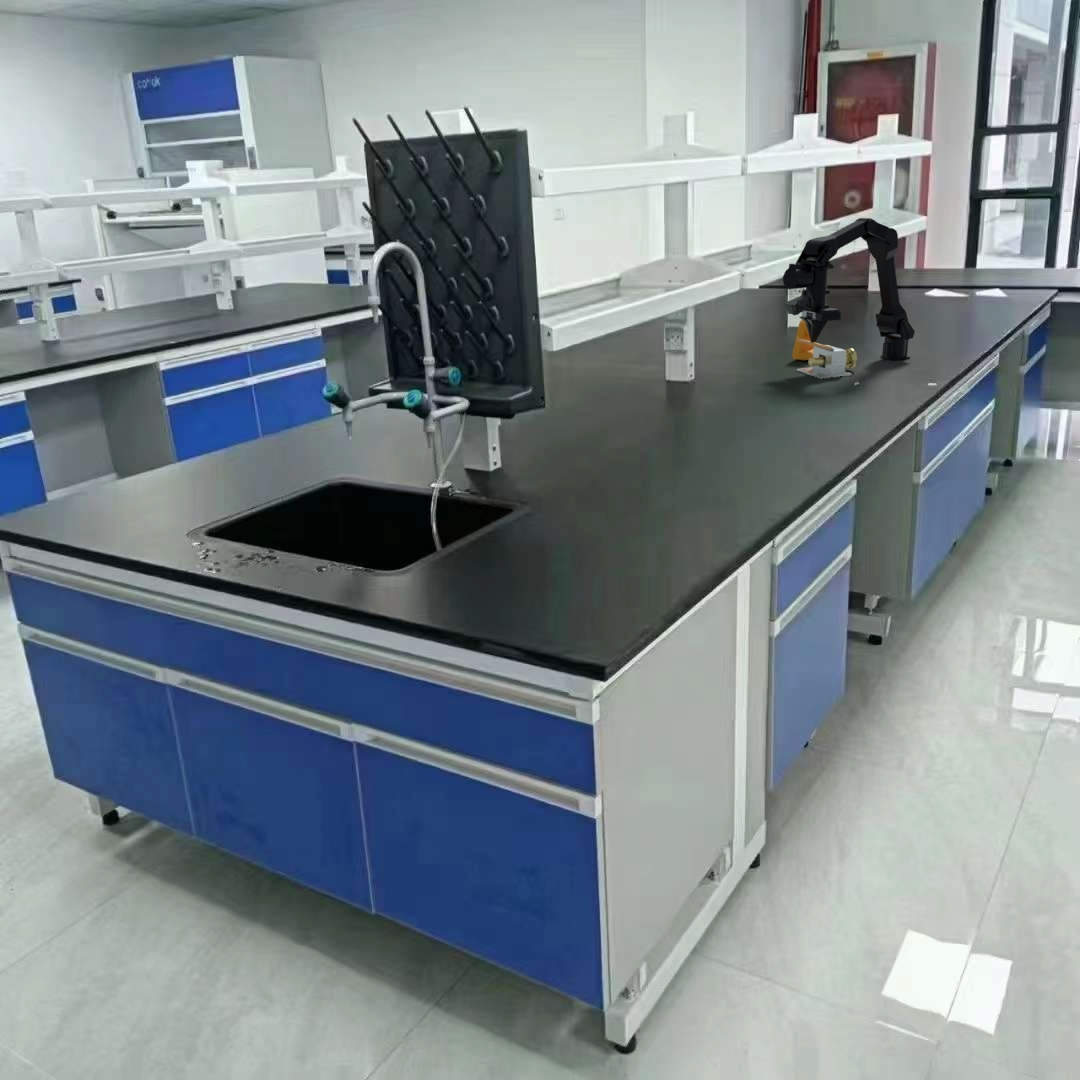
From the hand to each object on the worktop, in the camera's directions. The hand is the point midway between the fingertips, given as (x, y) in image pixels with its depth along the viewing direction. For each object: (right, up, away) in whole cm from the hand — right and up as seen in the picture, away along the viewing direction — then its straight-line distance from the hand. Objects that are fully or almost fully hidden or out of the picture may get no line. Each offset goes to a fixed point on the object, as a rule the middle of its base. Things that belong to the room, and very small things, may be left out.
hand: (813, 342), depth 295 cm
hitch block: (+4, -8, +4) cm, 10 cm away
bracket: (+6, -1, +24) cm, 25 cm away
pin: (+6, -7, +5) cm, 11 cm away
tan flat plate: (+1, -1, +1) cm, 2 cm away
